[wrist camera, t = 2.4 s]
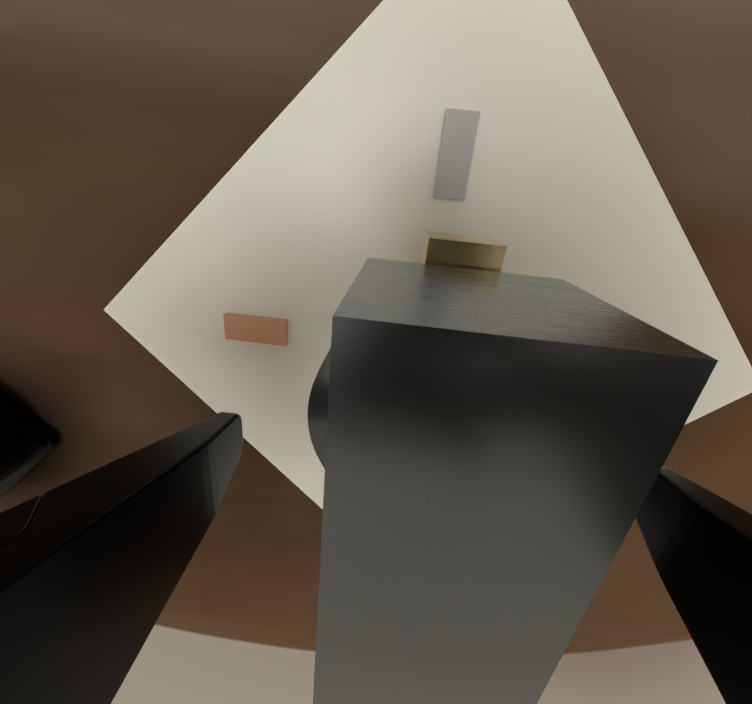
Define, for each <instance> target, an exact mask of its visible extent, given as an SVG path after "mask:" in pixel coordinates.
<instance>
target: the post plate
mask: <svg viewBox="0 0 752 704" xmlns="http://www.w3.org/2000/svg"><path fill="white" fill-rule="evenodd" d="M425 231H434V232H444V233H453V234H462V235H471V236H481V237H489V238H491V239H493V240H495V241H497V242H499V243H501V244H503V245H505V246H507V248H506V252H505V256H504V260H503V265H502V269H501V272H503V273H512V274H521V275H530V276H539V277H548V278H557V279H563V280H565V281H567V282H569V283H571V284H573V285H575V286H576V287H578V288H580V289H582V290H584V291H586V292H588V293H590V294H592V295H594V296H596V297H598V298H599V299H601V300H603V301H605V302H607V303H609V304H611V305H613V306H615V307H617V308H619V309H621V310H622V311H624V312H626V313H628V314H630V315H632V316H634V317H636V318H638V319H640V320H642V321H644V322H645V323H647V324H649V325H651V326H653V327H655V328H657V329H659V330H661V331H663V332H665V333H667V334H668V335H670V336H672V337H674V338H676V339H678V340H680V341H682V342H684V343H686V344H688V345H690V346H691V347H693V348H695V349H697V350H699V351H701V352H703V353H705V354H707V355H709V356H711V357H713V358H714V359H716V360H718V362H717V364H716V366H715V368H714V370H713V372H712V373H711V375H710V377H709V379H708V381H707V383H706V385H705V387H704V389H703V390H702V392H701V394H700V396H699V398H698V400H697V402H696V404H695V406H694V407H693V409H692V411H691V413H690V415H689V417H688V419H687V421H686V423H685V424H688V423H690V422H692V421H694V420H696V419H698V418H700V417H702V416H704V415H706V414H708V413H710V412H712V411H714V410H716V409H719V408H721V407H723V406H725V405H727V404H729V403H731V402H733V401H735V400H737V399H739V398H741V397H743V396H745V395H747V394H749V393H752V367H751V365H750V363H749V361H748V359H747V357H746V355H745V353H744V351H743V349H742V347H741V345H740V343H739V341H738V339H737V337H736V335H735V333H734V331H733V329H732V327H731V325H730V323H729V321H728V319H727V317H726V315H725V313H724V311H723V309H722V307H721V305H720V303H719V301H718V299H717V297H716V295H715V293H714V291H713V289H712V287H711V285H710V283H709V281H708V279H707V277H706V275H705V273H704V271H703V269H702V267H701V265H700V263H699V261H698V259H697V257H696V255H695V254H694V252H693V250H692V248H691V246H690V244H689V242H688V240H687V238H686V236H685V234H684V232H683V230H682V228H681V226H680V224H679V222H678V220H677V218H676V216H675V214H674V212H673V210H672V208H671V206H670V204H669V202H668V200H667V198H666V196H665V194H664V192H663V190H662V188H661V186H660V184H659V182H658V180H657V178H656V176H655V174H654V172H653V170H652V168H651V166H650V164H649V162H648V160H647V158H646V156H645V154H644V152H643V150H642V148H641V146H640V144H639V142H638V140H637V138H636V136H635V134H634V132H633V130H632V128H631V126H630V124H629V122H628V120H627V118H626V116H625V114H624V112H623V110H622V108H621V106H620V104H619V102H618V100H617V98H616V96H615V94H614V92H613V90H612V88H611V86H610V84H609V82H608V80H607V78H606V76H605V75H604V73H603V71H602V69H601V67H600V65H599V63H598V61H597V59H596V57H595V55H594V53H593V51H592V49H591V47H590V45H589V43H588V41H587V39H586V37H585V35H584V33H583V31H582V29H581V27H580V25H579V23H578V21H577V19H576V17H575V15H574V13H573V11H572V9H571V7H570V5H569V3H568V1H567V0H383V1H382V2H381V3H380V4H379V5H378V7H377V8H376V9H375V10H374V11H373V12H372V13H371V14H370V15H369V17H368V18H367V19H366V20H365V21H364V22H363V23H362V24H361V25H360V27H359V28H358V29H357V30H356V31H355V32H354V33H353V34H352V35H351V36H350V38H349V39H348V40H347V41H346V42H345V43H344V44H343V45H342V46H341V48H340V49H339V50H338V51H337V52H336V53H335V54H334V55H333V56H332V57H331V59H330V60H329V61H328V62H327V63H326V64H325V65H324V66H323V67H322V69H321V70H320V71H319V72H318V73H317V74H316V75H315V76H314V77H313V79H312V80H311V81H310V82H309V83H308V84H307V85H306V86H305V87H304V88H303V90H302V91H301V92H300V93H299V94H298V95H297V96H296V97H295V98H294V100H293V101H292V102H291V103H290V104H289V105H288V106H287V107H286V108H285V109H284V111H283V112H282V113H281V114H280V115H279V116H278V117H277V118H276V119H275V121H274V122H273V123H272V124H271V125H270V126H269V127H268V128H267V129H266V131H265V132H264V133H263V134H262V135H261V136H260V137H259V138H258V139H257V140H256V142H255V143H254V144H253V145H252V146H251V147H250V148H249V149H248V150H247V152H246V153H245V154H244V155H243V156H242V157H241V158H240V159H239V160H238V162H237V163H236V164H235V165H234V166H233V167H232V168H231V169H230V170H229V171H228V173H227V174H226V175H225V176H224V177H223V178H222V179H221V180H220V181H219V183H218V184H217V185H216V186H215V187H214V188H213V189H212V190H211V191H210V192H209V194H208V195H207V196H206V197H205V198H204V199H203V200H202V201H201V202H200V204H199V205H198V206H197V207H196V208H195V209H194V210H193V211H192V212H191V214H190V215H189V216H188V217H187V218H186V219H185V220H184V221H183V222H182V223H181V225H180V226H179V227H178V228H177V229H176V230H175V231H174V232H173V233H172V235H171V236H170V237H169V238H168V239H167V240H166V241H165V242H164V243H163V244H162V246H161V247H160V248H159V249H158V250H157V251H156V252H155V253H154V254H153V256H152V257H151V258H150V259H149V260H148V261H147V262H146V263H145V264H144V266H143V267H142V268H141V269H140V270H139V271H138V272H137V273H136V274H135V275H134V277H133V278H132V279H131V280H130V281H129V282H128V283H127V284H126V285H125V287H124V288H123V289H122V290H121V291H120V292H119V293H118V294H117V295H116V296H115V298H114V299H113V300H112V301H111V302H110V303H109V304H108V305H107V306H106V308H105V309H104V311H105V312H106V313H108V314H109V315H110V316H111V317H112V318H113V319H114V320H115V321H116V322H117V323H119V324H120V325H121V326H122V327H123V328H124V329H125V330H126V331H127V332H128V333H129V334H131V335H132V336H133V337H134V338H135V339H136V340H137V341H138V342H139V343H140V344H142V345H143V346H144V347H145V348H146V349H147V350H148V351H149V352H150V353H151V354H153V355H154V356H155V357H156V358H157V359H158V360H159V361H160V362H161V363H162V364H164V365H165V366H166V367H167V368H168V369H169V370H170V371H171V372H172V373H173V374H174V375H176V376H177V377H178V378H179V379H180V380H181V381H182V382H183V383H184V384H185V385H187V386H188V387H189V388H190V389H191V390H192V391H193V392H194V393H195V394H196V395H198V396H199V397H200V398H201V399H202V400H203V401H204V402H205V403H206V404H207V405H208V406H210V407H211V408H212V409H213V410H214V411H215V412H216V413H217V414H218V413H220V412H229V413H237V414H239V415H240V416H241V419H242V432H243V437H244V438H245V439H246V440H247V441H248V442H249V443H250V444H251V445H252V446H253V447H255V448H256V449H257V450H258V451H259V452H260V453H261V454H262V455H263V456H264V457H266V458H267V459H268V460H269V461H270V462H271V463H272V464H273V465H274V466H275V467H276V468H278V469H279V470H280V471H281V472H282V473H283V474H284V475H285V476H286V477H287V478H289V479H290V480H291V481H292V482H293V483H294V484H295V485H296V486H297V487H298V488H300V489H301V490H302V491H303V492H304V493H305V494H306V495H307V496H308V497H309V498H311V499H312V500H313V501H314V502H315V503H316V504H317V505H318V506H319V507H320V508H321V509H323V496H324V476H325V468H324V467H323V466H322V464H321V462H320V460H319V458H318V456H317V455H316V453H315V450H314V447H313V444H312V442H311V438H310V433H309V428H308V414H307V412H308V402H309V396H310V392H311V389H312V385H313V382H314V380H315V378H316V376H317V373H318V371H319V369H320V367H321V365H322V363H323V361H324V359H325V357H326V355H327V353H328V351H329V349H330V347H331V337H332V317H333V314H334V313H335V311H336V309H337V308H338V306H339V304H340V303H341V301H342V300H343V298H344V296H345V295H346V293H347V291H348V290H349V288H350V287H351V285H352V283H353V282H354V280H355V278H356V277H357V275H358V273H359V272H360V270H361V269H362V267H363V265H364V264H365V262H366V260H367V259H368V258H377V259H386V260H395V261H404V262H413V263H420V260H421V253H422V246H423V239H424V232H425ZM685 424H684V425H685Z"/></svg>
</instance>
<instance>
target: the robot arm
mask: <svg viewBox="0 0 752 704" xmlns="http://www.w3.org/2000/svg"><path fill="white" fill-rule="evenodd" d="M58 443H59V438H58V436H57V435H56V434H55V433H54V432H53V431H51V430H50V429H49V428H47V427H46V426H45V425H44V424H42V423H41V422H40V421H38V420H37V419H36V418H34V417H33V416H32V415H31V414H29V413H28V412H27V411H25V410H24V409H23V408H21V407H20V406H19V405H18V404H16V403H15V402H14V401H12V400H11V399H10V398H8V397H7V396H6V395H5V394H3V393H2V392H1V391H0V497H2V496H4V495H5V494H6V493H8V492H9V491H10V490H11V489H12V488H13V487H14V486H15V485H16V484H17V483H18V482H19V481H20V480H21V479H22V478H23V477H25V476H26V475H27V474H28V473H29V472H30V471H31V470H32V469H33V468H34V467H35V466H36V465H37V464H38V463H39V462H40V461H41V460H42V459H43V458H44V457H45V456H46V455H47V454H48V453H49V452H50V451H51V450H53V449H54V448H55V447H56V446H57V445H58ZM242 449H243V432H242V419H241V416H240V415H239V414H237V413H229V412H220V413H218V414H216V415H213V416H211V417H209V418H207V419H205V420H203V421H200V422H198V423H196V424H194V425H192V426H189V427H187V428H185V429H183V430H181V431H179V432H176V433H174V434H172V435H170V436H168V437H165V438H163V439H161V440H159V441H157V442H155V443H152V444H150V445H148V446H146V447H144V448H141V449H139V450H137V451H135V452H133V453H131V454H128V455H126V456H124V457H122V458H120V459H117V460H115V461H113V462H111V463H109V464H107V465H104V466H102V467H100V468H98V469H96V470H93V471H91V472H89V473H87V474H85V475H82V476H80V477H78V478H76V479H74V480H72V481H69V482H67V483H65V484H63V485H61V486H58V487H56V488H54V489H52V490H50V491H48V492H46V493H44V495H43V496H41V495H39V496H36V497H34V498H32V499H30V500H28V501H26V502H23V503H21V504H19V505H17V506H15V507H13V508H10V509H8V510H6V511H4V512H1V513H0V704H111V702H112V700H113V699H114V697H115V695H116V693H117V691H118V690H119V688H120V686H121V684H122V682H123V681H124V679H125V677H126V675H127V673H128V672H129V670H130V668H131V666H132V664H133V663H134V661H135V659H136V657H137V655H138V654H139V652H140V650H141V648H142V646H143V645H144V643H145V641H146V639H147V637H148V635H149V634H150V632H151V630H152V628H153V627H154V625H155V623H156V621H157V619H158V618H159V616H160V614H161V612H162V610H163V609H164V607H165V605H166V603H167V601H168V600H169V598H170V596H171V594H172V592H173V591H174V589H175V587H176V585H177V583H178V582H179V580H180V578H181V576H182V574H183V573H184V571H185V569H186V567H187V565H188V564H189V562H190V560H191V558H192V556H193V555H194V553H195V551H196V549H197V547H198V546H199V544H200V542H201V540H202V538H203V537H204V535H205V533H206V531H207V529H208V528H209V526H210V524H211V522H212V520H213V518H214V516H215V514H216V512H217V510H218V508H219V505H220V503H221V501H222V498H223V496H224V494H225V491H226V489H227V487H228V484H229V482H230V479H231V477H232V475H233V472H234V470H235V468H236V465H237V463H238V461H239V458H240V456H241V453H242ZM635 518H636V520H637V523H638V525H639V528H640V530H641V533H642V535H643V537H644V540H645V542H646V545H647V547H648V550H649V552H650V554H651V557H652V559H653V562H654V564H655V566H656V568H657V571H658V573H659V575H660V577H661V579H662V581H663V583H664V585H665V587H666V589H667V591H668V593H669V595H670V597H671V599H672V601H673V603H674V605H675V607H676V609H677V611H678V612H679V614H680V616H681V618H682V620H683V622H684V624H685V626H686V628H687V630H688V632H689V634H690V635H691V637H692V639H693V641H694V643H695V645H696V647H697V649H698V651H699V653H700V655H701V657H702V658H703V660H704V662H705V664H706V666H707V668H708V670H709V672H710V674H711V676H712V678H713V680H714V682H715V683H716V685H717V687H718V689H719V691H720V693H721V695H722V697H723V699H724V701H725V703H726V704H752V514H750V513H748V512H746V511H744V510H743V509H741V508H739V507H737V506H735V505H734V504H732V503H730V502H728V501H726V500H725V499H723V498H721V497H719V496H717V495H716V494H714V493H712V492H710V491H708V490H707V489H705V488H703V487H701V486H699V485H698V484H696V483H694V482H692V481H690V480H689V479H687V478H685V477H683V476H681V475H680V474H678V473H676V472H674V471H673V470H671V469H669V468H665V467H662V468H661V470H660V472H659V474H658V476H657V477H656V479H655V481H654V483H653V485H652V487H651V489H650V491H649V493H648V494H647V496H646V498H645V500H644V502H643V504H642V506H641V508H640V510H639V511H638V513H637V515H636V517H635Z"/></svg>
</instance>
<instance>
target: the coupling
mask: <svg viewBox="0 0 752 704" xmlns="http://www.w3.org/2000/svg"><path fill="white" fill-rule="evenodd" d="M506 248H507V246H505V245H503V244H501V243H499V242H497V241H495V240H493V239H491V238H489V237H481V236H471V235H462V234H453V233H444V232H434V231H425V232H424V239H423V246H422V253H421V260H420V263H413V262H404V261H395V260H386V259H377V258H368V259H367V260H366V262H365V264H364V265H363V267H362V269H361V270H360V272H359V273H358V275H357V277H356V278H355V280H354V282H353V283H352V285H351V287H350V288H349V290H348V291H347V293H346V295H345V296H344V298H343V300H342V301H341V303H340V304H339V306H338V308H337V309H336V311H335V313H334V314H333V317H332V337H331V347H330V349H329V351H328V353H327V355H326V357H325V359H324V361H323V363H322V365H321V367H320V369H319V371H318V373H317V376H316V378H315V380H314V382H313V385H312V389H311V392H310V396H309V402H308V412H307V414H308V428H309V433H310V438H311V442H312V444H313V447H314V450H315V453H316V455H317V456H318V458H319V460H320V462H321V464H322V466H323V467H324V468H325V476H324V496H323V516H322V536H321V556H320V576H319V596H318V616H317V635H316V655H315V676H314V695H313V704H537V702H538V700H539V698H540V697H541V695H542V693H543V691H544V689H545V687H546V685H547V683H548V681H549V679H550V678H551V675H552V674H553V672H554V670H555V668H556V666H557V664H558V662H559V661H560V659H561V657H562V655H563V653H564V651H565V649H566V647H567V646H568V644H569V642H570V640H571V638H572V636H573V634H574V632H575V630H576V629H577V627H578V625H579V623H580V621H581V619H582V617H583V615H584V613H585V612H586V610H587V608H588V606H589V604H590V602H591V600H592V598H593V596H594V595H595V593H596V591H597V589H598V587H599V585H600V583H601V581H602V579H603V578H604V576H605V574H606V572H607V570H608V568H609V566H610V564H611V562H612V561H613V559H614V557H615V555H616V553H617V551H618V549H619V547H620V545H621V544H622V542H623V540H624V538H625V536H626V534H627V532H628V530H629V528H630V527H631V525H632V523H633V521H634V519H635V517H636V515H637V513H638V511H639V510H640V508H641V506H642V504H643V502H644V500H645V498H646V496H647V494H648V493H649V491H650V489H651V487H652V485H653V483H654V481H655V479H656V477H657V476H658V474H659V472H660V470H661V468H662V466H663V464H664V462H665V460H666V458H667V457H668V455H669V453H670V451H671V449H672V447H673V445H674V443H675V441H676V440H677V438H678V436H679V434H680V432H681V430H682V428H683V426H684V424H685V423H686V421H687V419H688V417H689V415H690V413H691V411H692V409H693V407H694V406H695V404H696V402H697V400H698V398H699V396H700V394H701V392H702V390H703V389H704V387H705V385H706V383H707V381H708V379H709V377H710V375H711V373H712V372H713V370H714V368H715V366H716V364H717V362H718V360H716V359H714V358H713V357H711V356H709V355H707V354H705V353H703V352H701V351H699V350H697V349H695V348H693V347H691V346H690V345H688V344H686V343H684V342H682V341H680V340H678V339H676V338H674V337H672V336H670V335H668V334H667V333H665V332H663V331H661V330H659V329H657V328H655V327H653V326H651V325H649V324H647V323H645V322H644V321H642V320H640V319H638V318H636V317H634V316H632V315H630V314H628V313H626V312H624V311H622V310H621V309H619V308H617V307H615V306H613V305H611V304H609V303H607V302H605V301H603V300H601V299H599V298H598V297H596V296H594V295H592V294H590V293H588V292H586V291H584V290H582V289H580V288H578V287H576V286H575V285H573V284H571V283H569V282H567V281H565V280H563V279H557V278H548V277H539V276H530V275H521V274H512V273H503V272H501V269H502V265H503V260H504V256H505V252H506Z"/></svg>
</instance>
